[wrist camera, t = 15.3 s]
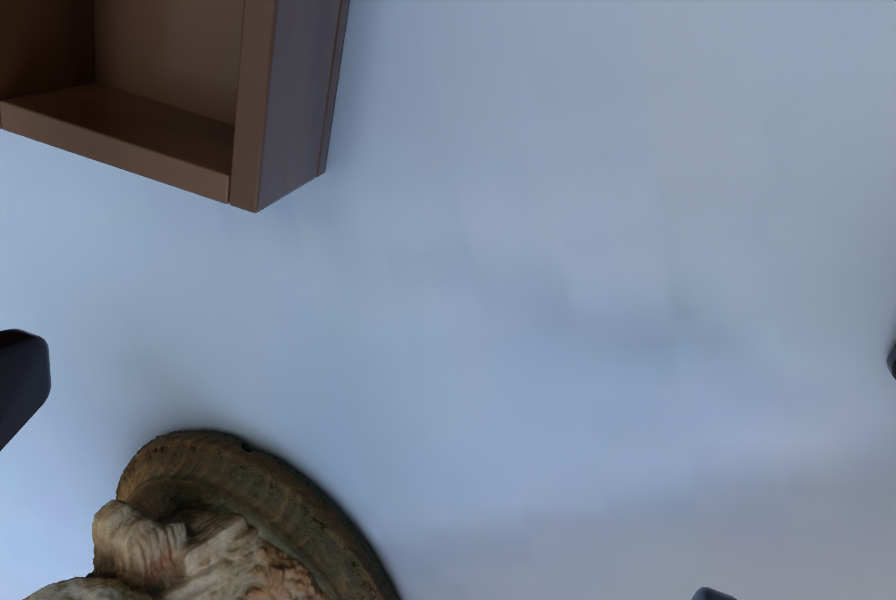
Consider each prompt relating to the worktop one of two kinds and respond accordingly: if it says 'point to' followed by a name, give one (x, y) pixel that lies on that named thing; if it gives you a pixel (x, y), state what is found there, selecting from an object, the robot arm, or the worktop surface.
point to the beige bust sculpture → (221, 532)
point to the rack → (179, 88)
